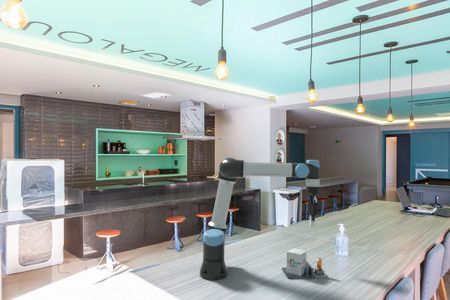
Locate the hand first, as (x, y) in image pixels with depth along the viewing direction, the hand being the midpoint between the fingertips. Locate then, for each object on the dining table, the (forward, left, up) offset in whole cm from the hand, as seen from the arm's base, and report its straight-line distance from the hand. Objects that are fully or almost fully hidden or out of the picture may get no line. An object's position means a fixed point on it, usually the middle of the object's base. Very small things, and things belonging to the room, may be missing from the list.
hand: (312, 226), depth 181 cm
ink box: (-12, -9, -23) cm, 28 cm away
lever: (0, -12, -24) cm, 27 cm away
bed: (-12, -9, -24) cm, 29 cm away
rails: (0, -8, -24) cm, 26 cm away
